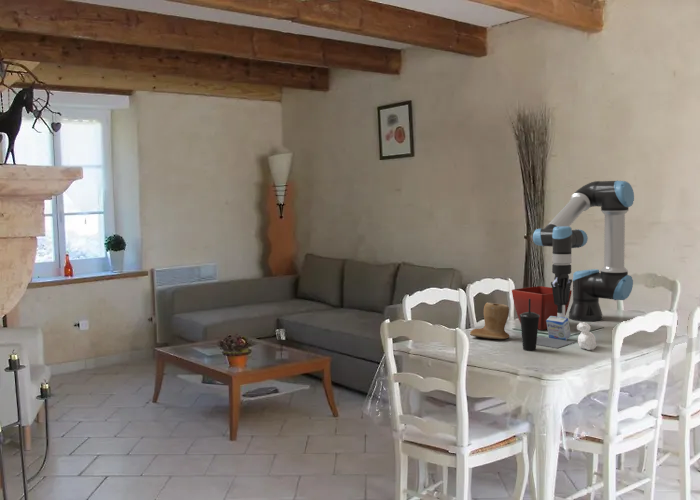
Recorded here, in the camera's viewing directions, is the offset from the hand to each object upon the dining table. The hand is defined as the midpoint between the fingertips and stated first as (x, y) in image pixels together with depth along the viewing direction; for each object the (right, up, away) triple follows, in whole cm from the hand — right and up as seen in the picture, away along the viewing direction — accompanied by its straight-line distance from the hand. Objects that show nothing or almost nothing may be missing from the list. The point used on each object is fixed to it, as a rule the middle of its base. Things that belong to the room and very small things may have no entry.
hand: (561, 320), depth 286 cm
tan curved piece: (-28, -8, +5) cm, 29 cm away
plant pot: (-1, -6, +25) cm, 26 cm away
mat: (-7, -8, -6) cm, 12 cm away
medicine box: (0, -7, 0) cm, 7 cm away
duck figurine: (+5, -9, -16) cm, 20 cm away
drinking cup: (-17, -10, -17) cm, 26 cm away
